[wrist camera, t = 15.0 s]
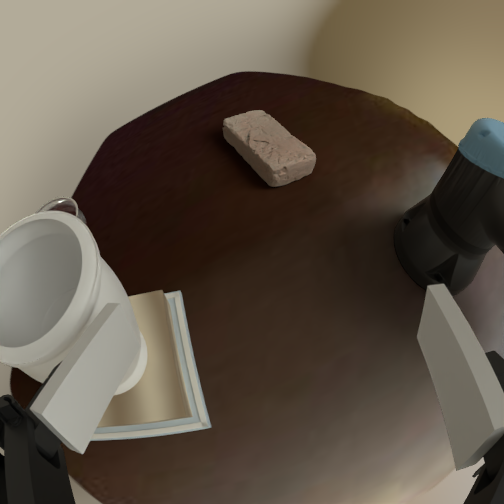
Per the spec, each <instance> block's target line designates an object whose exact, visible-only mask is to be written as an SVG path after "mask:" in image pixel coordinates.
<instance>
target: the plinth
mask: <svg viewBox="0 0 504 504" xmlns="http://www.w3.org/2000/svg"><path fill="white" fill-rule="evenodd" d="M128 298H129V300H130V303H131V306H132V309H133V312H134V315H135V318H136V321H137V324H138V327H139V330H140V332H141V333H142V335H143V337H144V339H145V342H146V346H147V354H148V356H147V364H146V368H145V371H144V373H143V375H142V377H141V379H140V380H139V381H138V383H137V384H136V385H135V386H134V387H132V388H131V389H130V390H128V391H126V392H124V393H122V394H118V395H114V396H113V397H112V399H111V401H110V403H109V405H108V407H107V409H106V411H105V412H104V414H103V416H102V418H101V420H100V422H99V424H98V426H97V428H100V427H116V426H128V425H139V424H148V423H156V422H163V421H171V420H177V419H183V418H189V417H193V416H192V412H191V407H190V403H189V399H188V395H187V391H186V386H185V382H184V377H183V372H182V368H181V363H180V358H179V353H178V348H177V343H176V337H175V332H174V326H173V320H172V314H171V308H170V304H169V302H168V300H167V298H166V296H165V294H164V293H163V291H162V290H159V291H154V292H149V293H144V294H139V295H134V296H129V297H128Z"/></svg>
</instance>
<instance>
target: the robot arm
mask: <svg viewBox="0 0 504 504" xmlns="http://www.w3.org/2000/svg"><path fill="white" fill-rule="evenodd" d="M458 146H459V148H458V150H457V152H456V154H455V155H454V157H453V159H452V161H451V162H450V164H449V166H448V167H447V169H446V171H445V172H444V174H443V175H442V177H441V179H440V180H439V182H438V183H437V185H436V187H435V188H434V190H433V191H432V193H431V194H430V195H429V196H428V197H426V198H425V199H423V200H422V201H420V202H419V203H417V204H416V205H414V206H413V207H411V208H410V209H409V210H407V211H406V212H405V214H404V215H403V216H402V218H401V219H400V221H399V223H398V224H397V226H396V229H395V233H394V244H395V249H396V253H397V255H398V258H399V260H400V262H401V264H402V266H403V267H404V269H405V270H406V272H407V273H408V274H409V276H410V277H411V278H412V279H413V280H414V281H415V282H416V283H417V284H418V285H420V286H421V287H422V288H424V289H425V290H427V291H426V297H425V302H424V307H423V312H422V316H421V321H420V325H419V330H418V334H417V339H418V342H419V345H420V347H421V350H422V353H423V355H424V358H425V361H426V364H427V367H428V370H429V372H430V375H431V378H432V381H433V384H434V387H435V391H436V394H437V397H438V400H439V404H440V407H441V410H442V414H443V417H444V421H445V425H446V428H447V432H448V436H449V440H450V444H451V448H452V453H453V457H454V462H455V466H456V471H457V470H460V469H463V468H466V467H469V466H472V465H474V464H476V463H477V462H478V461H479V460H480V459H481V458H482V457H484V461H485V464H484V465H483V466H481V467H480V468H479V469H478V470H477V471H476V472H475V473H474V475H473V477H476V476H477V475H478V474H479V476H478V477H477V479H476V481H475V483H474V485H473V487H472V489H471V491H470V493H469V495H468V497H467V498H466V500H465V502H464V504H504V359H503V358H502V357H501V356H500V355H499V354H498V353H496V352H495V351H491V352H488V353H484V351H483V349H482V347H481V345H480V343H479V341H478V340H477V338H476V336H475V334H474V332H473V331H472V329H471V327H470V325H469V324H468V322H467V320H466V318H465V317H464V315H463V313H462V312H461V310H460V308H459V307H458V305H457V303H456V302H455V300H454V299H453V297H452V296H453V295H456V294H458V293H460V292H461V291H462V290H464V289H465V288H466V287H467V286H468V285H469V284H470V283H471V282H472V281H473V279H474V278H475V276H476V274H477V272H478V270H479V268H480V266H481V264H482V262H483V260H484V258H485V255H486V253H487V252H488V251H489V250H490V249H491V248H492V247H493V246H494V245H497V247H498V248H499V249H500V250H501V251H502V252H503V253H504V123H503V122H500V121H498V120H495V119H490V118H482V119H478V120H477V121H475V122H474V123H473V125H472V126H471V128H470V129H469V131H468V132H467V134H466V136H465V137H464V138H463V139H462V140H461V141H460V143H459V145H458ZM140 347H141V346H140V344H139V342H138V340H137V338H136V336H135V334H134V332H133V330H132V328H131V326H130V324H129V322H128V320H127V318H126V315H125V313H124V311H123V309H122V307H121V304H120V303H107V304H106V305H105V306H104V308H103V309H102V310H101V311H100V313H99V314H98V315H97V316H96V318H95V319H94V320H93V321H92V323H91V324H90V325H89V327H88V328H87V329H86V330H85V332H84V333H83V334H82V336H81V337H80V338H79V340H78V341H77V342H76V344H75V345H74V346H73V348H72V349H71V350H70V352H69V353H68V354H67V356H66V357H65V358H64V360H63V361H61V362H60V363H59V364H58V365H57V366H55V367H54V368H53V370H52V371H51V373H50V374H49V375H48V378H46V380H45V381H44V382H43V385H41V387H40V388H39V390H38V391H37V393H36V394H35V395H34V397H33V398H32V400H31V401H30V403H29V404H28V406H27V407H26V409H25V410H24V409H23V408H22V407H21V406H20V405H19V404H18V402H17V401H16V400H15V399H14V398H13V397H12V396H11V395H3V396H2V397H0V447H1V448H2V449H3V450H4V455H5V456H3V455H2V454H1V453H0V504H75V501H74V497H73V493H72V489H71V485H70V480H69V476H68V471H67V466H66V461H65V456H64V451H63V448H62V447H61V446H60V444H61V442H63V443H64V444H65V445H66V446H67V447H68V448H70V449H71V450H74V451H76V452H78V453H81V454H84V452H85V450H86V448H87V446H88V444H89V442H90V440H91V438H92V436H93V434H94V432H95V430H96V428H97V426H98V424H99V422H100V420H101V418H102V416H103V414H104V412H105V411H106V409H107V407H108V405H109V403H110V401H111V399H112V397H113V396H114V394H115V392H116V390H117V388H118V386H119V385H120V383H121V381H122V379H123V377H124V375H125V374H126V372H127V370H128V368H129V366H130V365H131V363H132V361H133V359H134V358H135V356H136V354H137V352H138V350H139V349H140Z"/></svg>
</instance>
